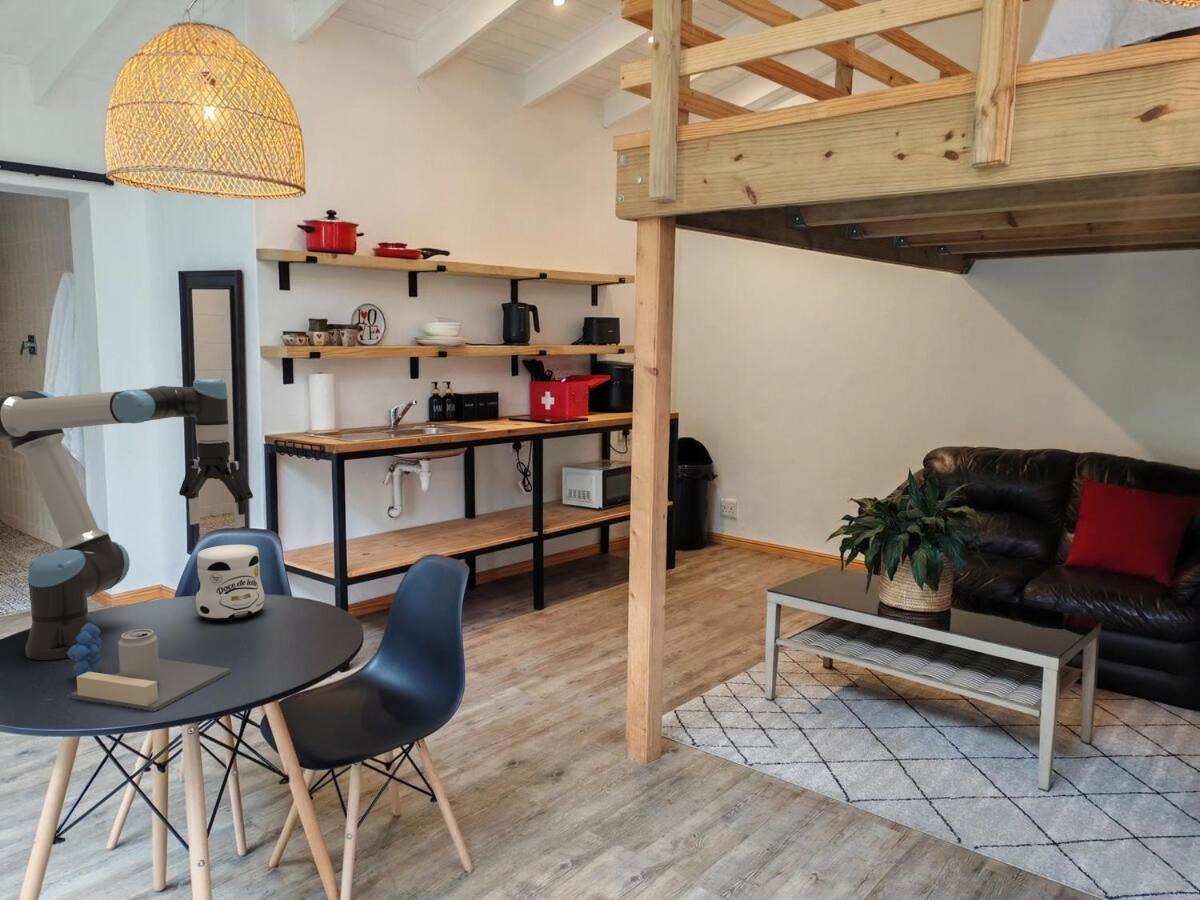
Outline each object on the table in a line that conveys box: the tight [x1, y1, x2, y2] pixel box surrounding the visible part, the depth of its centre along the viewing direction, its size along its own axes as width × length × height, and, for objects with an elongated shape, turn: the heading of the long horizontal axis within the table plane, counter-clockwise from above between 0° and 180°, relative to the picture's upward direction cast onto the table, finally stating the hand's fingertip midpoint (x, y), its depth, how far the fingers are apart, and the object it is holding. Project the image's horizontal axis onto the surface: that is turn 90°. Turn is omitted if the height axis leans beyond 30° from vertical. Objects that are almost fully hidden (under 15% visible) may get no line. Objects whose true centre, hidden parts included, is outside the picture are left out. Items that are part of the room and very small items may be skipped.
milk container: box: [195, 544, 265, 621], centre depth 240 cm, size 17×17×18 cm
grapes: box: [67, 623, 103, 676], centre depth 196 cm, size 12×7×12 cm, turn 12°
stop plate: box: [70, 658, 231, 712], centre depth 192 cm, size 22×22×5 cm
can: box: [117, 628, 160, 683], centre depth 188 cm, size 8×8×12 cm
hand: (217, 525), depth 220 cm, fingers open, 13 cm apart
